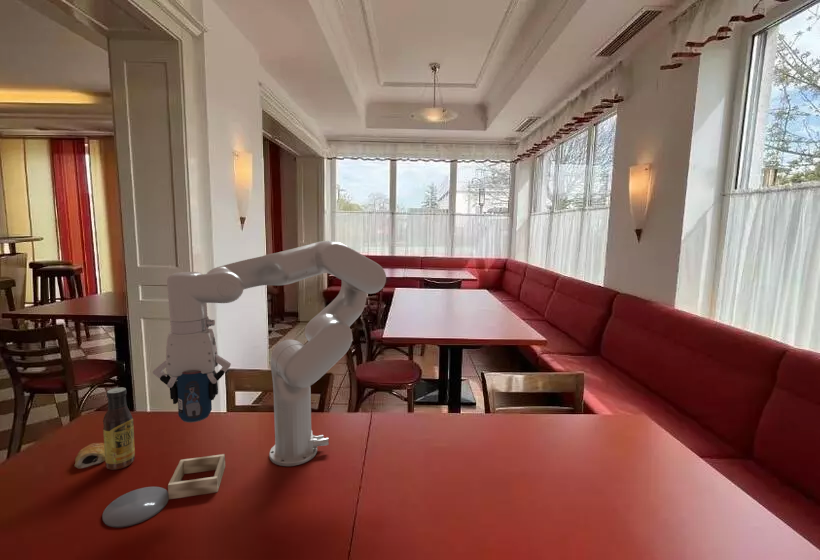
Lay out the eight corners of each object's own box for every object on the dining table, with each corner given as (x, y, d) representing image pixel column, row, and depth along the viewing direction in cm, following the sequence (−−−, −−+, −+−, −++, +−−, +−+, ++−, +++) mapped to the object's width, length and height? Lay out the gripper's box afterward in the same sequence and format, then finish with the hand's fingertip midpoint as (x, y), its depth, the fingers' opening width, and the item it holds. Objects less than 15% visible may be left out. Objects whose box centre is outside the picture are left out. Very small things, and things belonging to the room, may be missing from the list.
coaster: (175, 485, 94) (175, 483, 94) (158, 521, 83) (158, 518, 83) (117, 493, 91) (117, 491, 91) (91, 532, 79) (90, 529, 79)
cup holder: (225, 466, 102) (224, 454, 101) (217, 492, 92) (216, 478, 92) (181, 472, 99) (180, 459, 98) (168, 499, 89) (167, 485, 89)
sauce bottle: (119, 473, 98) (113, 397, 96) (99, 469, 100) (92, 394, 97) (142, 458, 105) (136, 386, 102) (122, 455, 106) (116, 384, 103)
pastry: (80, 453, 107) (79, 439, 106) (111, 446, 111) (110, 433, 110) (74, 471, 99) (72, 457, 99) (107, 463, 103) (106, 449, 102)
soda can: (202, 407, 98) (201, 361, 97) (217, 416, 94) (216, 367, 93) (173, 417, 93) (171, 368, 91) (187, 427, 89) (185, 376, 87)
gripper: (233, 320, 96) (237, 389, 99) (152, 324, 92) (158, 397, 94) (228, 327, 89) (232, 402, 92) (140, 333, 84) (147, 411, 87)
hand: (195, 399), depth 93 cm, fingers closed on soda can, 7 cm apart
